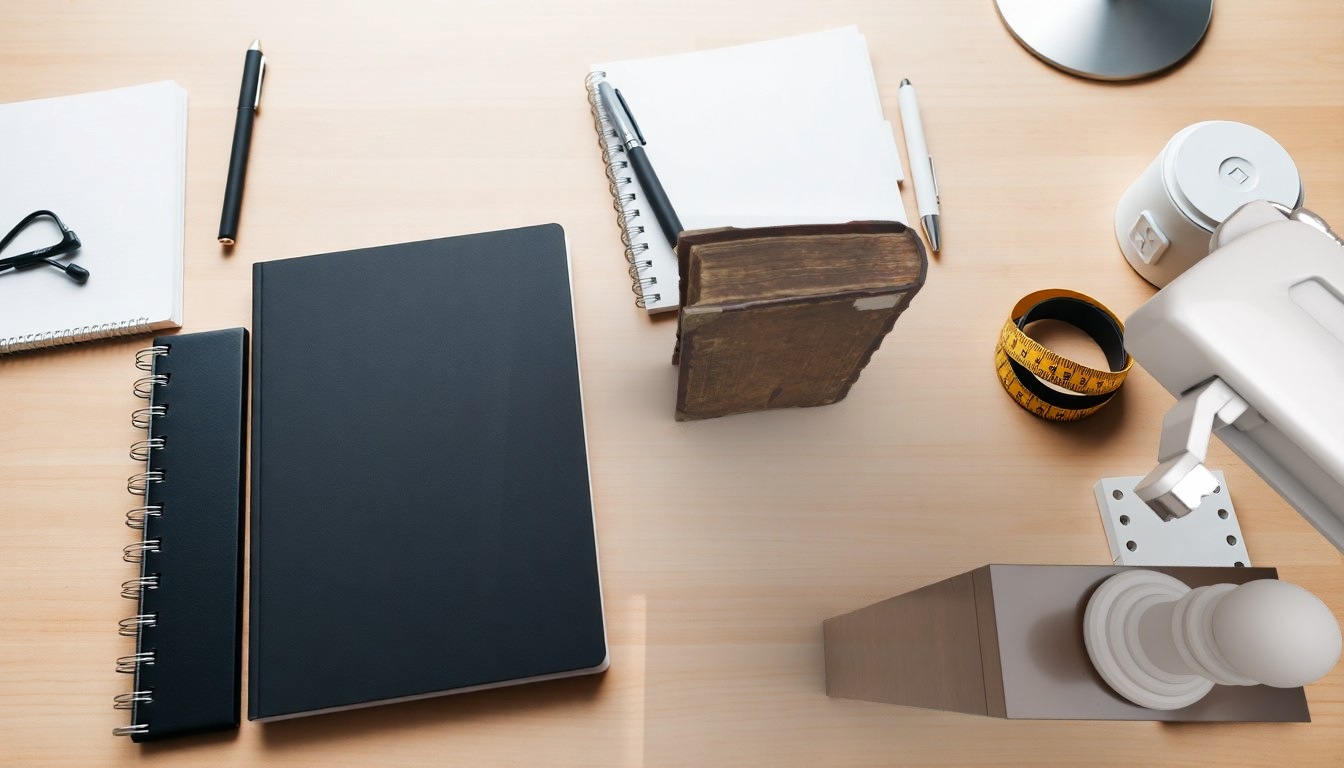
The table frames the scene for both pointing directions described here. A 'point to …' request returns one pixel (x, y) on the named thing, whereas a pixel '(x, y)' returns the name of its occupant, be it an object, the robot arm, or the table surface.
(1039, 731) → the table surface
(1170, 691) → the chess piece
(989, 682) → the brushed taupe box
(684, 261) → the book
